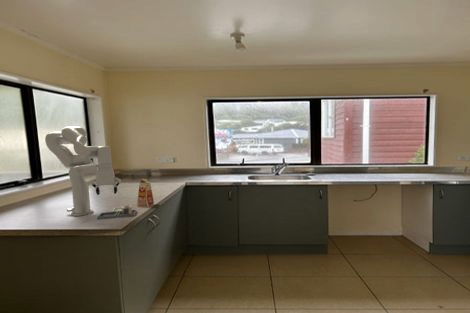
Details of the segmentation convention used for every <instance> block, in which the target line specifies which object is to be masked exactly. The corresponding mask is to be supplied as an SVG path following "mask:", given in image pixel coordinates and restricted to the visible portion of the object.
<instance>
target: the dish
mask: <svg viewBox="0 0 470 313" xmlns="http://www.w3.org/2000/svg"><path fill="white" fill-rule="evenodd" d="M122 207H123V206H119V207H117V206H116V207H114V208H113V209H112V210H111V211H110V212H116V211H119V212H120V211H122Z"/></svg>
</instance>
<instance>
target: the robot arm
mask: <svg viewBox="0 0 470 313" xmlns="http://www.w3.org/2000/svg"><path fill="white" fill-rule="evenodd" d="M86 131H87V130H85V129H84V128H83V127H81V126H66V127H63V128H62V129H61V131H53V132H48V133H47V134H46V135H45V138H44V141H45V142H44V143H45V145H46V147H47V149H48V150H49V151H50V152H51V153H52V154H53V155H55V157H56V158H57V159H58V160H59V161H60V162H61V164H62V165H63V166H64V167H65V168H66V169H69V170H68V177H69V181H70V184H71V191H72V192H71V194H72V204H73V206H72V207H69V208H66V212H67V213H68V212H69V213H70V212H71V213H70V215H71V216H73V217H80V216H87V215H90V214H92V213H94V209H93V208H91V201H90V199H91V198H90V187H89V184H88V182H87V181H86V180H88V179H93V180H91V181H90V182H89V183H90V184H91V185H92V187H93V188H94V189H95V194H96V195H97V196H99V195H100V194H101V190H100V186H111V185H112V186H113V194H117V193H118V186H119V185H120V183H121V182H122V179H121V178H118V177H117V176H116V175H115V171H114V168H113V163H112V153H111V151H112V150H111V147H110V146H108V145H89V146H87V145H86V144H87V141H88V139H87V132H86ZM65 145H73V150H74V153H73V152H72V151H71V150H70V149H69V148H68V147H67V146H65ZM92 159H97V164H95V163H94V162H93V160H92ZM94 178H95V179H94ZM116 181H117V183H116Z"/></svg>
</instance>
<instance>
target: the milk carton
mask: <svg viewBox="0 0 470 313" xmlns="http://www.w3.org/2000/svg"><path fill="white" fill-rule="evenodd" d="M137 194H138V195H137V203H136V207H144V208H147V207H148V208H149V207H151V206H153V205H155V201H154V195H153V189H152V186H151V182H150V181H148V179H147V178H141V181H140V182H139V185H138V192H137Z"/></svg>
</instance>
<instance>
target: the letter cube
mask: <svg viewBox="0 0 470 313" xmlns="http://www.w3.org/2000/svg"><path fill="white" fill-rule="evenodd" d="M121 207H122V215H125V214H132V210H133V207H132V204H130V205H122V206H121Z"/></svg>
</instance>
